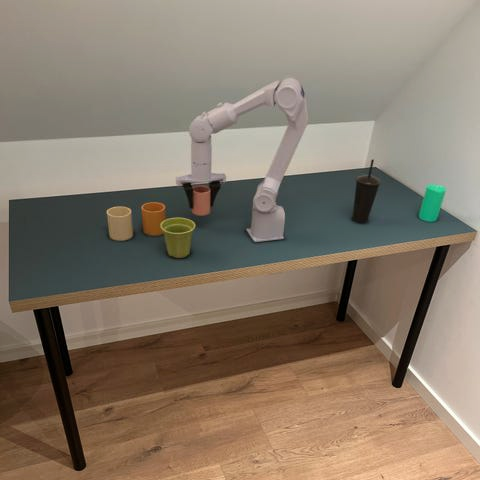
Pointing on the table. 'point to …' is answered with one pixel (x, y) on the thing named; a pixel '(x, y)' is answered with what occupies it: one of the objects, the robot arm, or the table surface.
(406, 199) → the table surface
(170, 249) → the plant pot
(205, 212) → the rose cup
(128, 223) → the cream cup
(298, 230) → the table surface
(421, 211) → the candle
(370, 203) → the drinking cup
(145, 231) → the ochre cup
